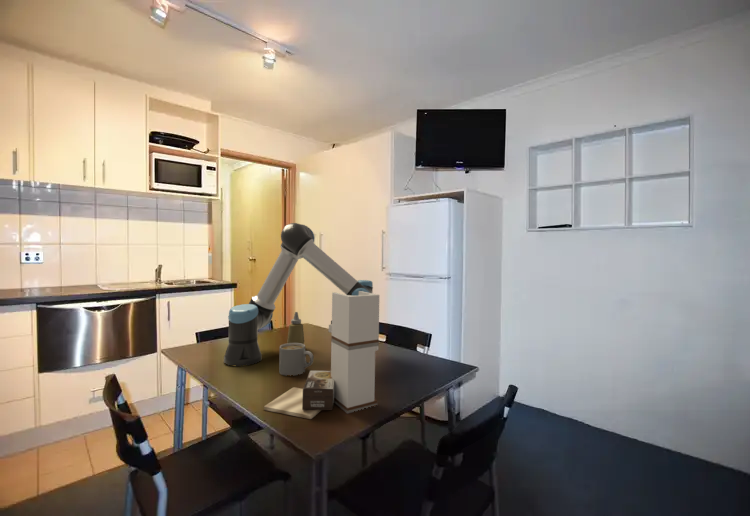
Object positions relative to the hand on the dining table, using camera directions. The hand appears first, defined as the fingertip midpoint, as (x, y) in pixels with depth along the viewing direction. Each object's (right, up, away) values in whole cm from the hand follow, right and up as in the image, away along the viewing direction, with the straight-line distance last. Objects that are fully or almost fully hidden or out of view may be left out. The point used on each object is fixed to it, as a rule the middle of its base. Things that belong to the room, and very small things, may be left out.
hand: (330, 328), depth 129 cm
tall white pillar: (+10, -20, -18) cm, 29 cm away
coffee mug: (-15, -19, +9) cm, 26 cm away
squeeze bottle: (-22, -18, +40) cm, 49 cm away
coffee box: (-1, -15, -10) cm, 18 cm away
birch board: (-7, -19, -19) cm, 28 cm away
